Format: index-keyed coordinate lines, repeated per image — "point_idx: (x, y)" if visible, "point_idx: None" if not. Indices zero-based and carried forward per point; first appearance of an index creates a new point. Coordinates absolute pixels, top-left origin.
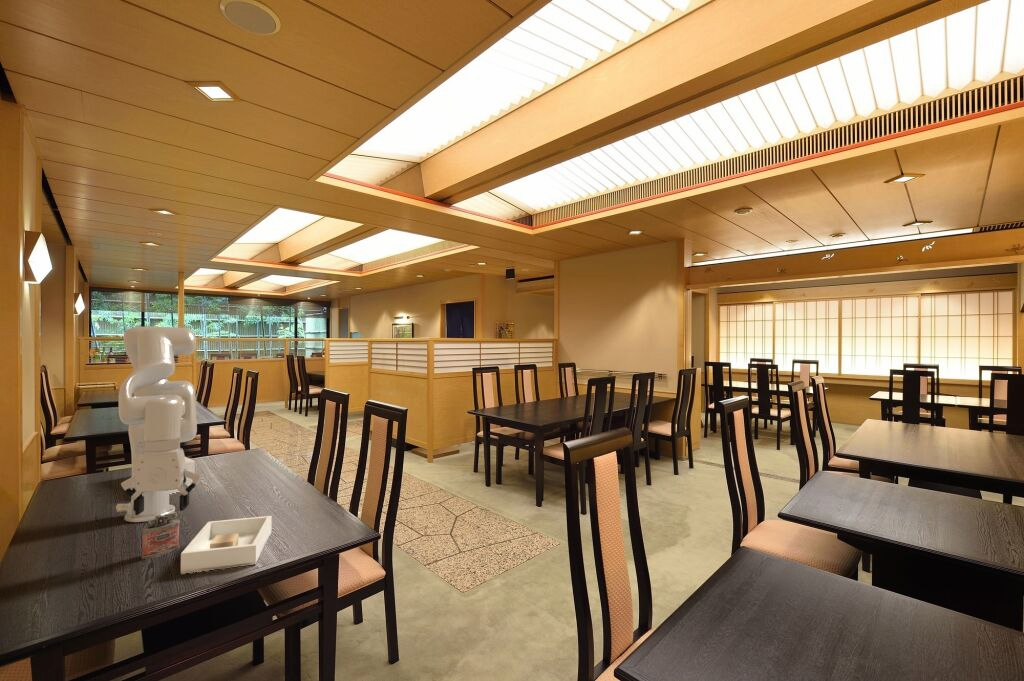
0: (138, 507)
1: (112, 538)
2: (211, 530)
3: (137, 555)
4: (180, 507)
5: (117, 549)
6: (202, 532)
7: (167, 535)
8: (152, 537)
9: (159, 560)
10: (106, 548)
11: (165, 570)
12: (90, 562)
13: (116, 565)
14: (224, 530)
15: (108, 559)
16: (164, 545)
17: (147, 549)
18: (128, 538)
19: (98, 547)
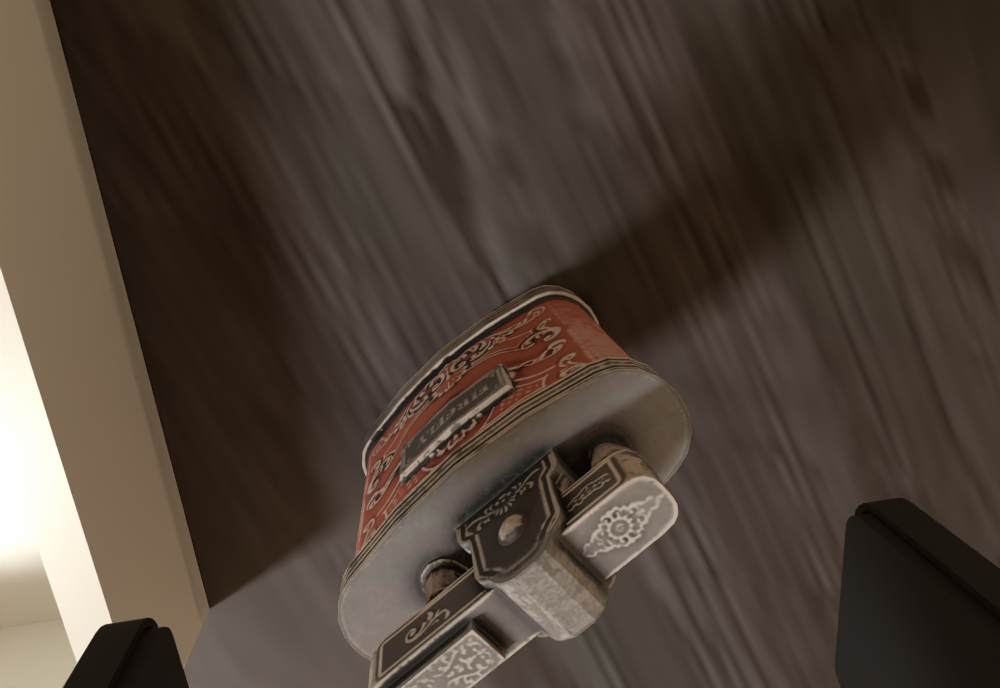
0: (953, 596)
1: None
2: None
3: None
4: (115, 662)
5: (846, 501)
6: (13, 457)
7: (421, 443)
8: (539, 369)
9: (416, 246)
10: None
11: (238, 6)
12: (942, 300)
13: (729, 207)
14: (11, 663)
15: (837, 333)
16: (440, 391)
17: (554, 316)
18: None
19: (986, 548)
